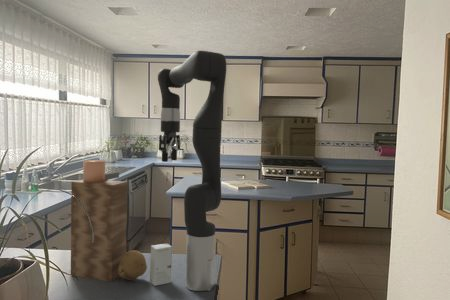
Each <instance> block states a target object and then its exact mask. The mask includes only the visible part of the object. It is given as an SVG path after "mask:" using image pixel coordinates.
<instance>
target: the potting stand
mask: <svg viewBox="0 0 450 300" xmlns="http://www.w3.org/2000/svg"><path fill="white" fill-rule="evenodd" d="M70 189H71V190H70V191H71V194H72V195H74V196H75V197H76V198H77V199H79V200H80V202H81V204H82V205H83V206H84V207H85V209H86V210H87V212H88V214H89V216H90V219H91V223H92V227H93V232H94V242H93V243H92V235H91V228H90V222H89V219H88V216H87V214H86V212H85V211H84V209H83V208H82V207H81V205H80V203H79V201H78V200H77V199H76V198H75V197H73V196H71V195H70V196H71V197H70V200H71V201H70V202H71V203H70V206H71V208H70V209H71V210H70V276H73V277H74V276H75V277H81V278H87V279H92V280H98V281H105V282H110V283H111V282H114V281H115V280H116V279H118V278H119V277H121V276H120V275H119V274H118V267H119V264H120V261H121V258H122V257H123V255H124V254H125V253H126V252H127V222H128V221H127V219H128V218H127V217H128V215H127V214H128V212H127V211H128V210H127V209H128V181H124V180H123V181H121V180H112V179H109V180H105V182H100V183H86V182H83V179H79V180H72V181H71V186H70Z"/></svg>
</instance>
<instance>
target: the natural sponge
mask: <svg viewBox="0 0 450 300" xmlns="http://www.w3.org/2000/svg"><path fill="white" fill-rule="evenodd" d="M147 268H148V265H147V261H146V258H145V255H144V254H143V253H142V252H141V251H139V250H135V249H133V250H128V251H126V253H125V254H124V255H123V257H122V258H121V261H120V264H119V267H118V274H119V275H120V276H119V277H121V278H123V279H126V280H127V281H135V280H137V279H138V278H139V277H141V276H143V275H144V274H145V273H146V272H147V270H148V269H147Z"/></svg>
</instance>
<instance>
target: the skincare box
mask: <svg viewBox="0 0 450 300" xmlns="http://www.w3.org/2000/svg"><path fill="white" fill-rule="evenodd" d="M149 260H150V261H149V262H150V263H149V265H150V267H149V269H150V270H149V282H150V283H151V285H153V286H160V285H161V286H162V285H165V284H171V282H172V263H173V262H172V260H173V246H172V245H170V244H169V243H160V244H154V245H153V244H152V245H150V259H149Z"/></svg>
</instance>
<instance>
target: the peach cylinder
mask: <svg viewBox="0 0 450 300" xmlns="http://www.w3.org/2000/svg"><path fill="white" fill-rule="evenodd" d="M82 164H83V168H82V170H83V172H82V174H83V175H82V177H83V178H82V180H83V182H86V183H100V182H105V180H114V179H119V178H120V172H119V171H108V172H106V160H102V159H101V160H100V159H94V160H93V159H88V160H83V161H82Z"/></svg>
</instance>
